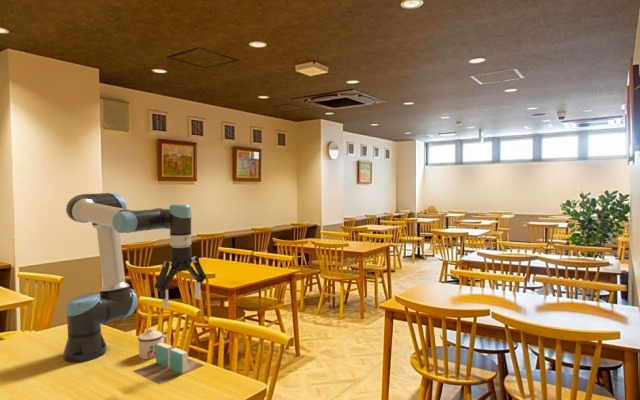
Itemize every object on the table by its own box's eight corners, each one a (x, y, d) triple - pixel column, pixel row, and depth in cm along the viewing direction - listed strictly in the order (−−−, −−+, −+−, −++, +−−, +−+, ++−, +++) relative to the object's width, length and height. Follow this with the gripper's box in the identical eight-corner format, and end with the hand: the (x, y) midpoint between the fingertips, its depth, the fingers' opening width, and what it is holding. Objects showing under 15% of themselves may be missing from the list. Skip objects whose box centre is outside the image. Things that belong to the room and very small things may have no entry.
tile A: (156, 362, 157) (155, 344, 157) (162, 360, 159) (161, 342, 159) (166, 367, 153) (166, 348, 153) (173, 365, 155) (172, 346, 155)
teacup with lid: (148, 365, 159) (147, 334, 158) (133, 359, 164) (132, 330, 163) (174, 353, 169) (173, 325, 168) (160, 349, 174) (159, 321, 173)
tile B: (170, 369, 152) (169, 349, 151) (176, 366, 154) (175, 347, 153) (181, 374, 147) (181, 354, 147) (187, 371, 149) (187, 352, 149)
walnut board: (133, 375, 150) (132, 371, 150) (177, 358, 165) (177, 354, 165) (159, 388, 140) (159, 384, 140) (204, 369, 154) (204, 365, 154)
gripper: (155, 251, 144) (156, 313, 145) (214, 242, 163) (215, 297, 164) (143, 249, 148) (144, 309, 149) (203, 241, 168) (203, 293, 169)
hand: (182, 302), depth 157 cm, fingers open, 13 cm apart
